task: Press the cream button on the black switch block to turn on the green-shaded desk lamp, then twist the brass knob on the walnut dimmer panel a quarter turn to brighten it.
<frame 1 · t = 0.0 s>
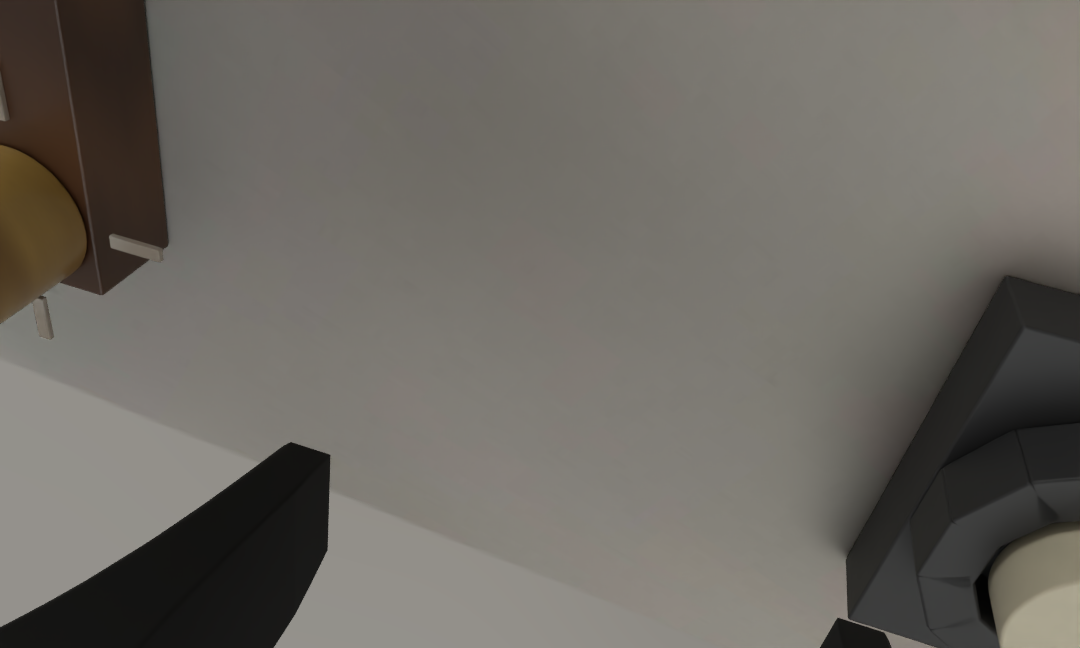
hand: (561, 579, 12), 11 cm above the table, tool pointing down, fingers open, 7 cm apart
switch block: (1052, 475, 22), on the table
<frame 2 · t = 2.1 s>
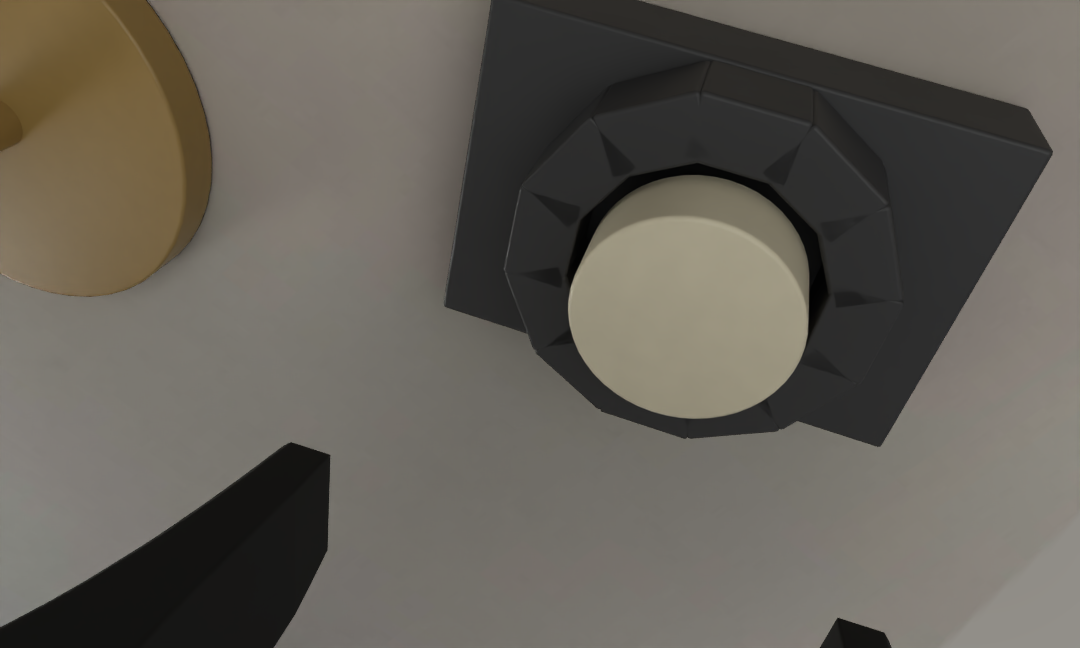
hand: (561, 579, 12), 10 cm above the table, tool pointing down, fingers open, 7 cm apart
desk lamp: (35, 105, 22), on the table
switch block: (714, 195, 19), on the table
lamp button: (689, 299, 15), point 4 cm above the table, slide at 0.1 cm
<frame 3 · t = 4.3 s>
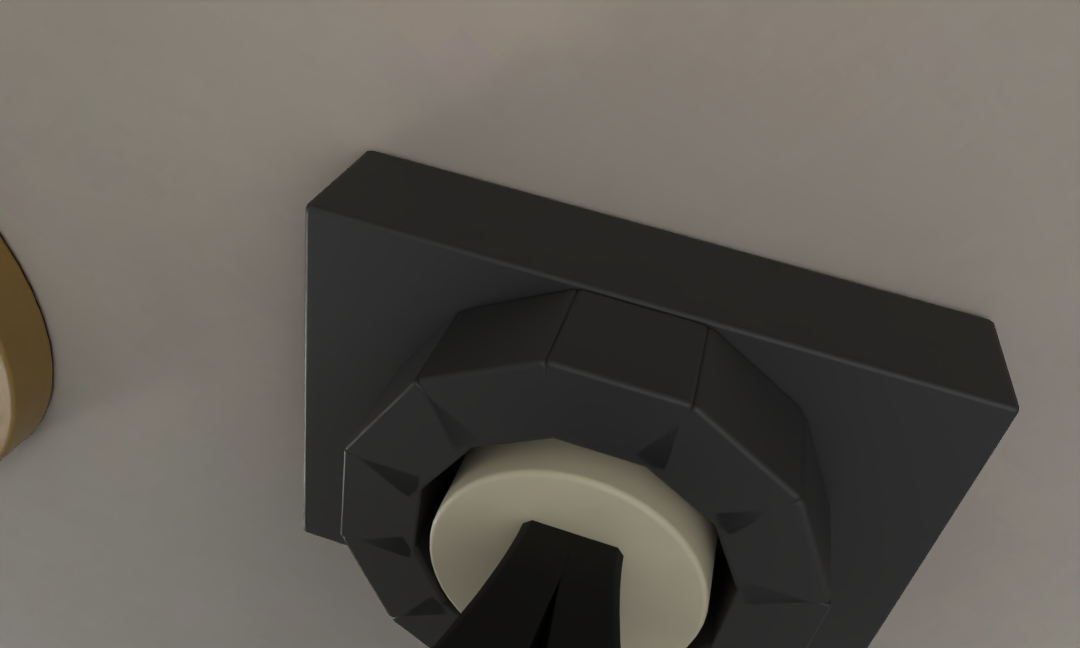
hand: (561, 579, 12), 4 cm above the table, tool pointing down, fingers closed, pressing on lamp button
switch block: (619, 399, 16), on the table
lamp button: (576, 536, 13), point 3 cm above the table, slide at -1.0 cm, touching gripper
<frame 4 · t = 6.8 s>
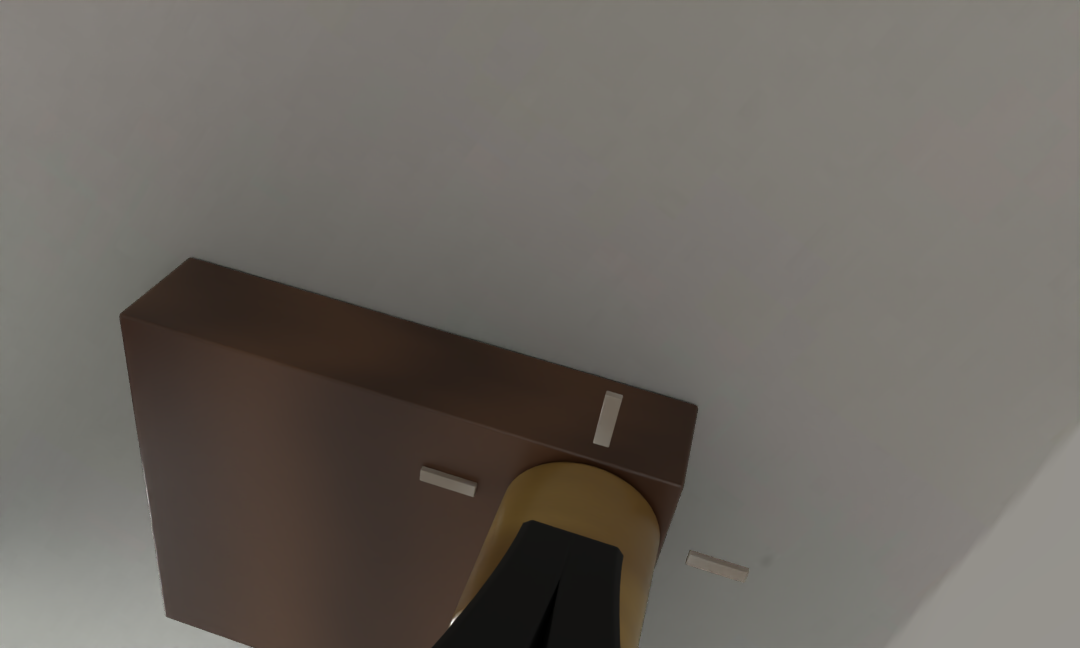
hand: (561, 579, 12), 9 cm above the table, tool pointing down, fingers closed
dimmer knob: (558, 593, 19), point 5 cm above the table, hinge at 0.0°
dimmer panel: (417, 488, 26), on the table
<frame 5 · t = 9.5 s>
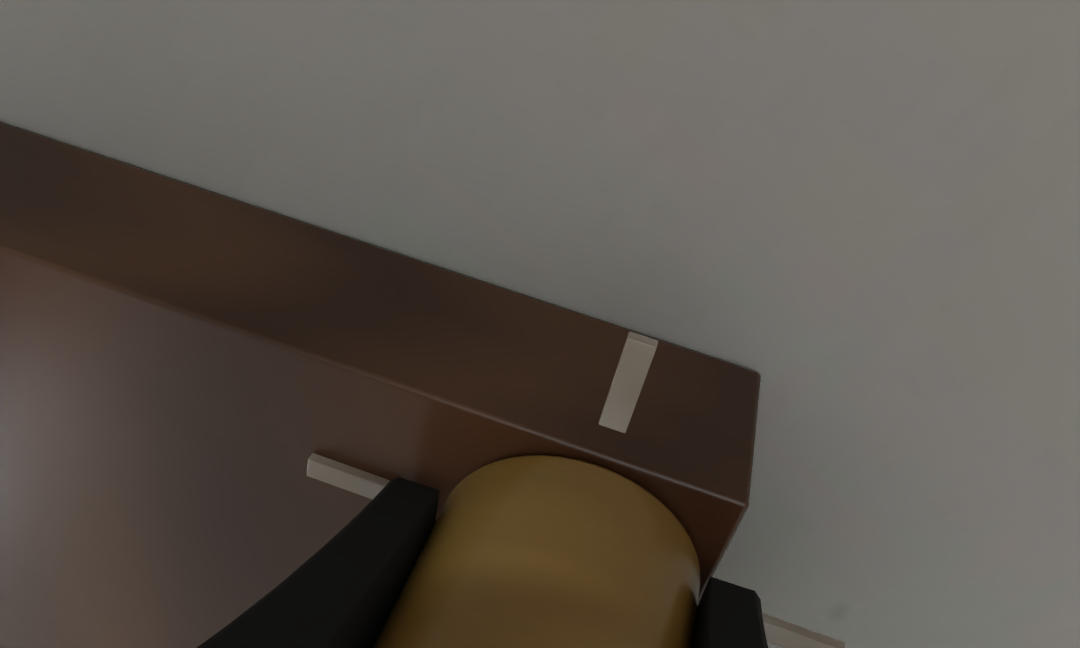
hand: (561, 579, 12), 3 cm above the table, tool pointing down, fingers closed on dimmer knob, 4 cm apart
dimmer panel: (325, 484, 18), on the table
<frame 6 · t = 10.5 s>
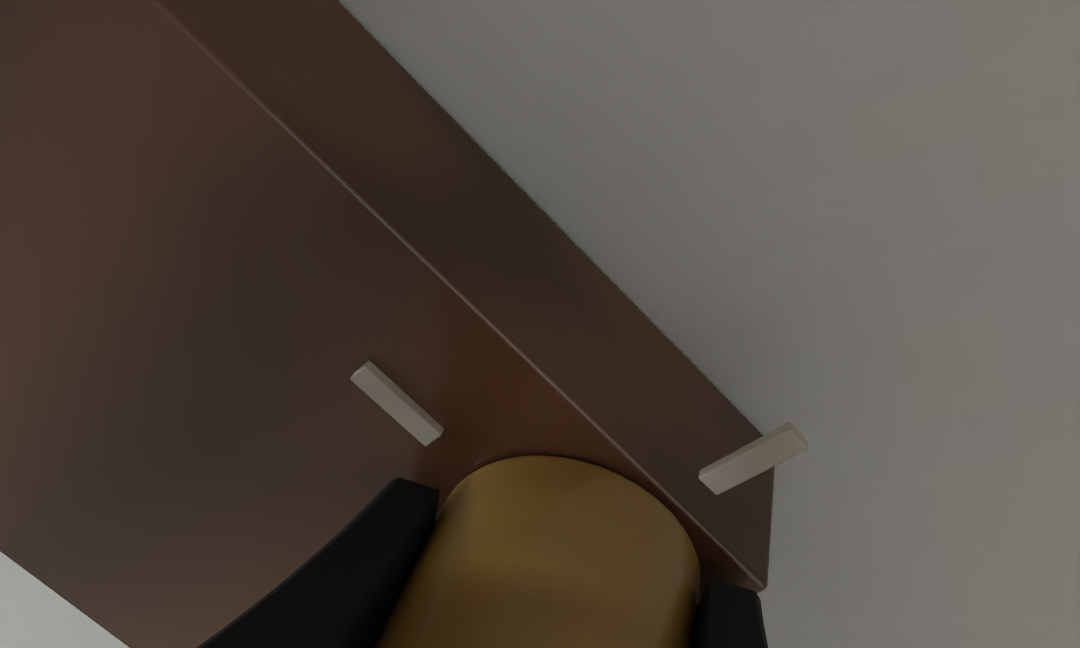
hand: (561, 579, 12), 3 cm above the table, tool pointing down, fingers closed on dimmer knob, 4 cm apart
dimmer panel: (268, 340, 16), on the table
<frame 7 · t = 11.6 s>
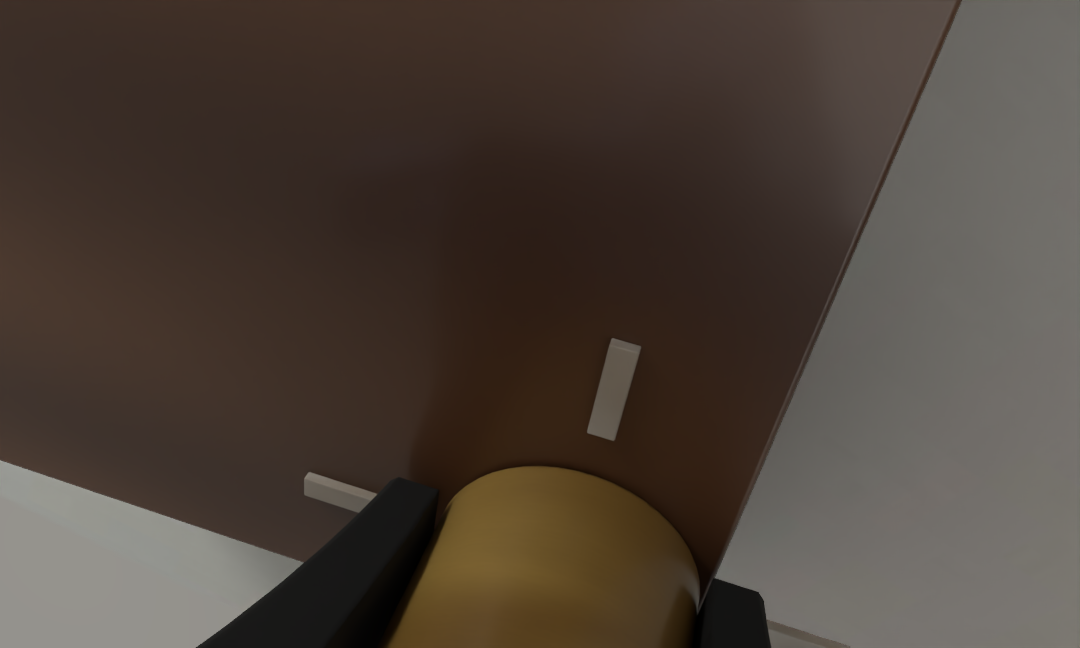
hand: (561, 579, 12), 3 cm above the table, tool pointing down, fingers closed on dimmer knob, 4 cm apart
dimmer panel: (409, 94, 13), on the table
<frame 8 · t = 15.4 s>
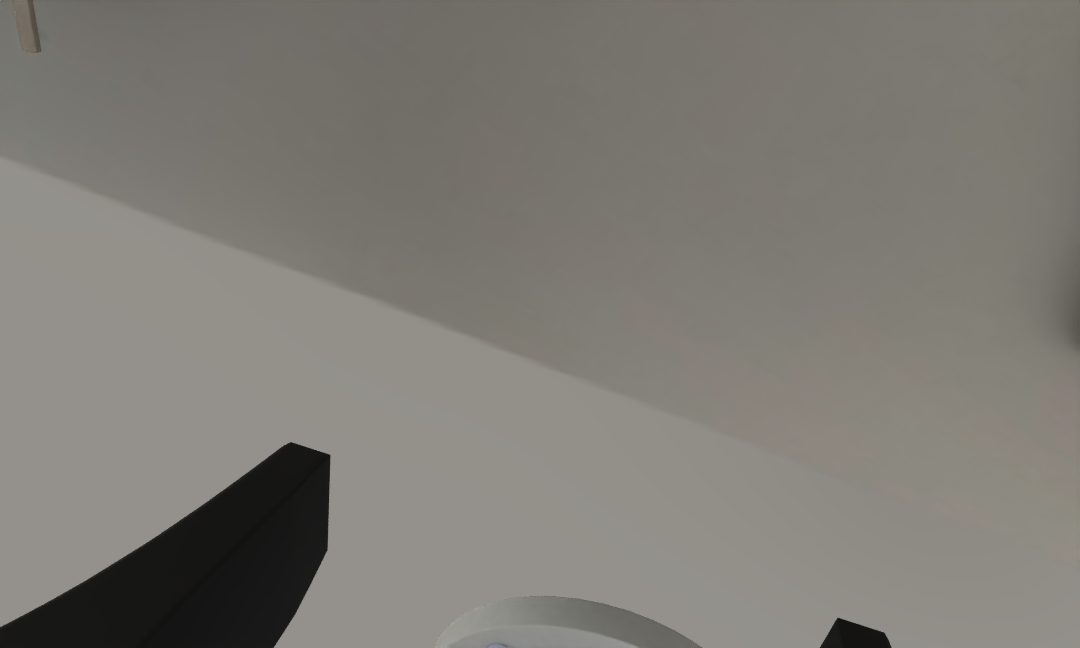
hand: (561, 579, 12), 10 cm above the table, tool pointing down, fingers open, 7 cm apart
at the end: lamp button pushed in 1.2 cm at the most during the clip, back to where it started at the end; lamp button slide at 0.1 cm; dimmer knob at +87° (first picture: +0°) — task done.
